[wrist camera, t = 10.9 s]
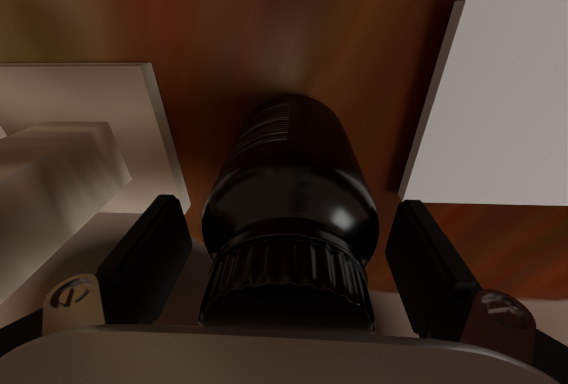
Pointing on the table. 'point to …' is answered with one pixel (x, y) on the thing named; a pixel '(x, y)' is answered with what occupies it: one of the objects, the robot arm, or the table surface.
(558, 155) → the grey mat
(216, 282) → the supplement bottle
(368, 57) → the table surface
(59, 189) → the stand
